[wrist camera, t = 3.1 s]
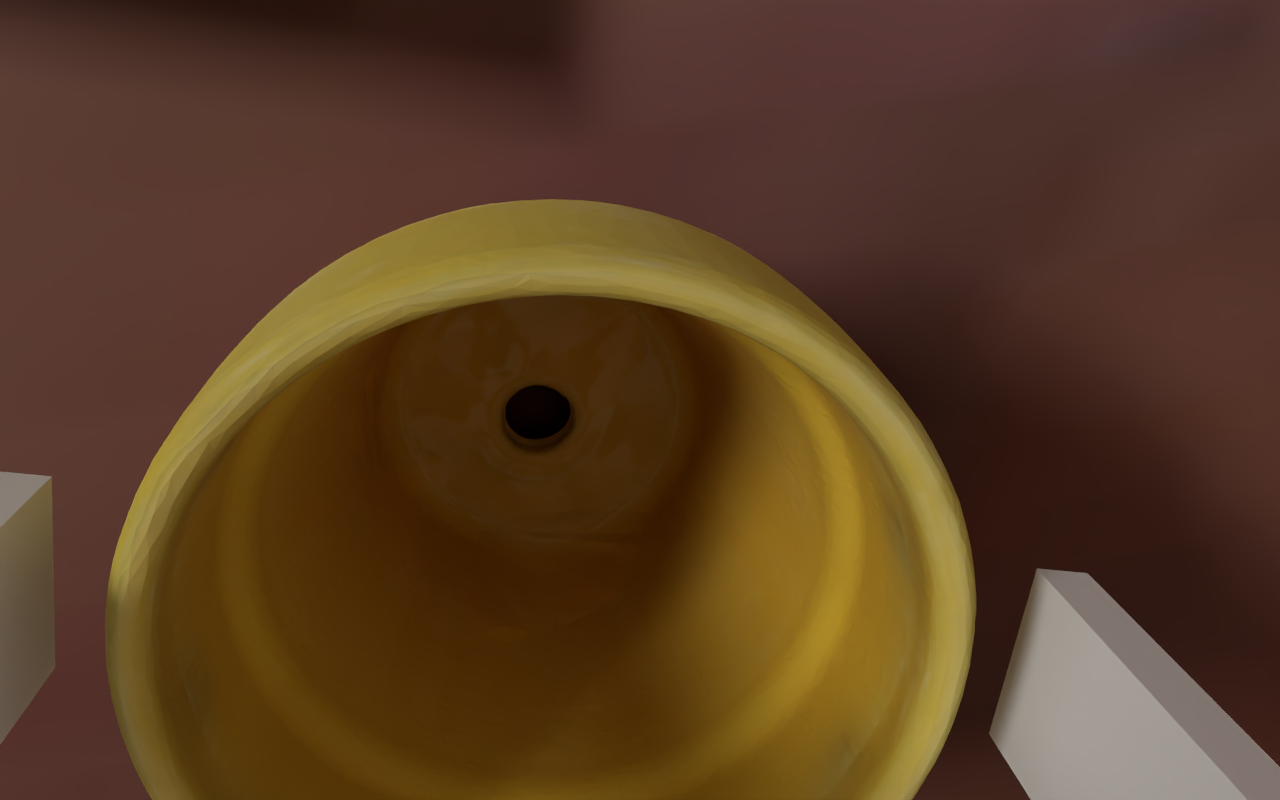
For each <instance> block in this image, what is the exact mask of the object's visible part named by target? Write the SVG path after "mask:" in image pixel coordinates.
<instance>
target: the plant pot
mask: <svg viewBox="0 0 1280 800" xmlns="http://www.w3.org/2000/svg"><path fill="white" fill-rule="evenodd" d="M534 385H539V386H547V387H549V388H552V389H554V390H557V391H558V392H559V393H560V394H561V395H562V396H564V397H565V398H567V400H568V401H569V404H570V416H569V420H568V422H567V423H566V425H565V427H564V428H562V429H561V430H560V431H559V432H557V433H555V434H554V435H552V436H549V437H546V438H542V439H528V438H524V437H522V436H519V435H518V434H517V433H515V432H514V431H513V430H512V429H511V428H510V426H509V424H508V423H507V421H506V417H505V409H506V404H507V402H508V401H509V399H510V398H511V397H512V396H513V395H514V394H515V393H516V392H518V391H519V390H521V389H523V388H525V387H529V386H534ZM975 617H976V587H975V576H974V566H973V559H972V552H971V546H970V541H969V536H968V532H967V528H966V524H965V520H964V517H963V513H962V509H961V506H960V502H959V499H958V497H957V495H956V492H955V490H954V487H953V485H952V483H951V480H950V478H949V476H948V473H947V471H946V468H945V466H944V464H943V462H942V460H941V458H940V456H939V454H938V453H937V451H936V449H935V447H934V445H933V443H932V441H931V439H930V438H929V436H928V434H927V433H926V431H925V429H924V427H923V426H922V424H921V422H920V421H919V420H918V418H917V417H916V416H915V414H914V413H913V411H912V410H911V409H910V407H909V406H908V405H907V403H906V402H905V400H904V399H903V398H902V396H901V395H900V394H899V392H898V391H897V390H896V389H895V388H894V386H893V385H892V384H891V383H890V382H889V381H888V379H887V378H886V377H885V376H884V375H883V374H882V372H881V371H880V370H879V369H878V368H877V367H876V365H875V364H874V363H873V362H872V361H871V360H870V358H869V357H868V356H867V355H866V354H865V353H864V352H863V351H862V350H861V349H860V348H859V346H858V345H857V344H856V343H855V342H854V341H853V340H852V339H851V338H850V337H849V336H848V335H847V334H846V333H845V332H844V330H843V329H842V328H841V327H840V326H839V325H838V324H837V323H835V322H834V321H833V320H832V319H831V318H830V317H829V316H828V315H827V314H826V313H825V312H824V311H823V310H821V309H820V308H819V307H818V306H817V305H816V304H815V303H814V302H812V301H811V300H810V299H809V298H808V297H807V296H806V295H804V294H803V293H802V292H801V291H800V290H799V289H797V288H796V287H795V286H794V285H792V284H791V283H790V282H788V281H787V280H786V279H785V278H783V277H782V276H781V275H779V274H778V273H777V272H776V271H774V270H773V269H772V268H770V267H769V266H767V265H766V264H764V263H763V262H761V261H759V260H758V259H756V258H755V257H753V256H752V255H750V254H749V253H747V252H745V251H744V250H742V249H741V248H739V247H737V246H735V245H733V244H731V243H729V242H728V241H726V240H724V239H722V238H720V237H718V236H716V235H714V234H711V233H709V232H706V231H704V230H701V229H699V228H697V227H694V226H692V225H689V224H687V223H684V222H682V221H679V220H676V219H672V218H669V217H666V216H663V215H660V214H657V213H654V212H649V211H645V210H640V209H636V208H631V207H627V206H622V205H616V204H609V203H603V202H594V201H583V200H558V199H545V200H526V201H512V202H503V203H493V204H486V205H481V206H475V207H469V208H465V209H461V210H457V211H453V212H449V213H445V214H441V215H438V216H435V217H432V218H428V219H425V220H422V221H419V222H416V223H413V224H410V225H407V226H405V227H402V228H400V229H398V230H395V231H393V232H390V233H388V234H386V235H383V236H381V237H378V238H376V239H374V240H372V241H370V242H368V243H367V244H365V245H363V246H361V247H359V248H357V249H355V250H353V251H351V252H349V253H347V254H346V255H344V256H342V257H341V258H339V259H338V260H336V261H334V262H333V263H331V264H330V265H328V266H327V267H325V268H324V269H322V270H320V271H319V272H318V273H316V274H315V275H314V276H312V277H311V278H310V279H308V280H307V281H306V282H304V283H303V284H302V285H300V286H299V287H298V288H296V289H295V290H294V291H293V292H291V293H290V294H289V295H288V296H287V297H286V298H285V299H284V300H282V301H281V302H280V303H279V304H278V305H277V306H276V307H275V308H274V309H272V310H271V311H270V312H269V313H268V314H267V315H266V316H265V317H264V318H263V319H262V320H261V321H260V322H259V323H258V324H257V325H256V326H255V327H254V328H253V329H252V330H251V331H250V332H249V334H248V335H247V336H246V337H245V338H244V339H243V340H242V341H241V342H240V343H239V344H238V345H237V346H236V348H235V349H234V350H233V351H232V352H231V353H230V354H229V355H228V356H227V358H226V359H225V360H224V361H223V362H222V363H221V365H220V366H219V367H218V368H217V370H216V371H215V372H214V373H213V375H212V376H211V377H210V379H209V380H208V381H207V383H206V384H205V385H204V386H203V388H202V389H201V390H200V392H199V393H198V394H197V396H196V397H195V398H194V400H193V401H192V402H191V404H190V405H189V406H188V407H187V409H186V410H185V411H184V413H183V414H182V416H181V417H180V419H179V420H178V422H177V423H176V425H175V426H174V428H173V429H172V431H171V432H170V434H169V435H168V437H167V438H166V440H165V441H164V443H163V444H162V446H161V448H160V449H159V451H158V452H157V454H156V456H155V457H154V459H153V461H152V463H151V465H150V467H149V469H148V471H147V473H146V475H145V477H144V479H143V481H142V483H141V485H140V487H139V489H138V491H137V493H136V495H135V498H134V500H133V503H132V505H131V508H130V510H129V513H128V515H127V518H126V521H125V524H124V527H123V529H122V532H121V535H120V538H119V541H118V543H117V547H116V551H115V555H114V559H113V563H112V568H111V573H110V578H109V583H108V592H107V601H106V610H105V648H106V665H107V675H108V681H109V686H110V691H111V697H112V702H113V707H114V710H115V713H116V717H117V720H118V723H119V727H120V730H121V734H122V736H123V739H124V742H125V744H126V747H127V749H128V752H129V755H130V757H131V760H132V763H133V765H134V767H135V769H136V771H137V773H138V775H139V777H140V779H141V781H142V783H143V784H144V786H145V788H146V790H147V792H148V793H149V795H150V797H151V798H152V800H912V799H913V798H914V796H915V795H916V793H917V792H918V790H919V788H920V787H921V785H922V783H923V782H924V780H925V779H926V777H927V775H928V774H929V772H930V770H931V769H932V767H933V765H934V764H935V762H936V760H937V758H938V756H939V754H940V752H941V750H942V748H943V746H944V744H945V741H946V739H947V737H948V734H949V732H950V730H951V727H952V725H953V722H954V719H955V716H956V713H957V711H958V708H959V705H960V702H961V699H962V696H963V692H964V688H965V684H966V679H967V675H968V671H969V667H970V661H971V653H972V646H973V640H974V633H975Z"/></svg>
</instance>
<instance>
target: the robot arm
mask: <svg viewBox="0 0 1280 800" xmlns="http://www.w3.org/2000/svg"><path fill="white" fill-rule="evenodd" d="M54 668H55V627H54V575H53V522H52V476H42V475H31V474H21V473H10V472H0V744H1V743H2V742H3V740H4V739H5V737H6V736H7V735H8V733H9V732H10V730H11V729H12V728H13V726H14V725H15V723H16V722H17V720H18V719H19V718H20V716H21V715H22V713H23V712H24V711H25V709H26V708H27V706H28V705H29V704H30V702H31V701H32V699H33V698H34V697H35V695H36V694H37V692H38V691H39V690H40V688H41V687H42V685H43V684H44V683H45V681H46V680H47V678H48V677H49V675H50V674H51V673H52V671H53V670H54ZM989 735H990V736H991V738H992V739H993V741H994V743H995V744H996V746H997V747H998V749H999V750H1000V752H1001V754H1002V755H1003V757H1004V758H1005V760H1006V761H1007V763H1008V764H1009V766H1010V768H1011V769H1012V771H1013V772H1014V774H1015V775H1016V777H1017V779H1018V780H1019V782H1020V783H1021V785H1022V786H1023V788H1024V790H1025V791H1026V793H1027V794H1028V796H1029V797H1030V799H1031V800H1280V767H1279V766H1278V765H1277V764H1276V763H1275V762H1274V761H1273V760H1272V759H1271V758H1270V757H1269V756H1268V755H1267V754H1266V753H1265V752H1264V751H1263V750H1262V749H1261V748H1260V747H1259V746H1258V745H1257V744H1256V743H1255V742H1254V741H1253V740H1252V739H1251V738H1250V737H1249V736H1248V735H1247V734H1246V733H1245V732H1244V731H1243V730H1242V728H1241V727H1240V726H1239V725H1238V724H1237V723H1236V722H1235V721H1234V720H1233V719H1232V718H1231V717H1230V716H1229V715H1228V714H1227V713H1226V712H1225V711H1224V710H1223V709H1222V708H1221V707H1220V706H1219V705H1218V704H1217V703H1216V702H1215V701H1214V700H1213V699H1212V698H1211V697H1210V696H1209V695H1208V694H1207V693H1206V692H1205V691H1204V690H1203V689H1202V688H1201V687H1200V686H1199V685H1198V684H1197V683H1196V682H1195V681H1194V680H1193V679H1192V678H1191V677H1190V676H1189V675H1188V674H1187V673H1186V672H1185V671H1184V670H1183V669H1182V668H1181V667H1180V666H1179V665H1178V664H1177V663H1176V662H1175V661H1174V660H1173V659H1172V658H1171V657H1170V656H1169V655H1168V654H1167V653H1166V652H1165V651H1164V650H1163V649H1162V648H1161V647H1160V646H1159V645H1158V644H1157V643H1156V642H1155V641H1154V640H1153V639H1152V638H1151V637H1150V636H1149V635H1148V634H1147V633H1146V632H1145V631H1144V630H1143V629H1142V628H1141V627H1140V626H1139V625H1138V624H1137V623H1136V622H1135V621H1134V620H1133V619H1132V618H1131V617H1130V616H1129V615H1128V614H1127V613H1126V612H1125V611H1124V610H1123V609H1122V608H1121V607H1120V606H1119V605H1118V604H1117V602H1116V601H1115V600H1114V599H1113V598H1112V597H1111V596H1110V595H1109V594H1108V593H1107V592H1106V591H1105V590H1104V589H1103V588H1102V587H1101V586H1100V585H1099V584H1098V583H1097V582H1096V581H1095V580H1094V579H1093V578H1092V577H1091V576H1090V575H1089V574H1088V573H1080V572H1070V571H1059V570H1048V569H1038V568H1037V570H1036V573H1035V577H1034V580H1033V584H1032V587H1031V590H1030V594H1029V597H1028V601H1027V604H1026V608H1025V611H1024V615H1023V618H1022V621H1021V625H1020V628H1019V632H1018V635H1017V639H1016V642H1015V646H1014V649H1013V652H1012V656H1011V659H1010V663H1009V666H1008V670H1007V673H1006V677H1005V680H1004V683H1003V687H1002V690H1001V694H1000V697H999V701H998V704H997V708H996V711H995V714H994V718H993V721H992V725H991V728H990V732H989Z"/></svg>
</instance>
